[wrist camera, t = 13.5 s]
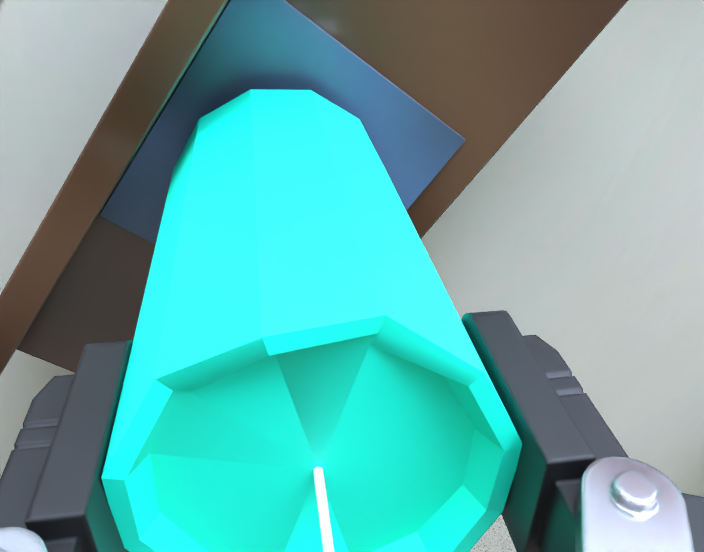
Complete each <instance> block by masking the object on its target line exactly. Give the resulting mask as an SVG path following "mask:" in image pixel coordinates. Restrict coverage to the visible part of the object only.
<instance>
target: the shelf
mask: <svg viewBox="0 0 704 552" xmlns="http://www.w3.org/2000/svg"><path fill="white" fill-rule="evenodd" d="M627 1H628V0H168V1H167V3H166V5H165V7H164V8H163V10H162V12H161V14H160V15H159V17H158V19H157V21H156V23H155V24H154V26H153V28H152V30H151V31H150V33H149V35H148V37H147V38H146V40H145V42H144V44H143V45H142V47H141V49H140V51H139V52H138V54H137V56H136V58H135V59H134V61H133V63H132V65H131V66H130V68H129V70H128V72H127V73H126V75H125V77H124V79H123V80H122V82H121V84H120V86H119V87H118V89H117V91H116V93H115V94H114V96H113V98H112V100H111V102H110V103H109V105H108V107H107V109H106V110H105V112H104V114H103V116H102V117H101V119H100V121H99V123H98V124H97V126H96V128H95V130H94V131H93V133H92V135H91V137H90V138H89V140H88V142H87V144H86V145H85V147H84V149H83V151H82V152H81V154H80V156H79V158H78V159H77V161H76V163H75V165H74V166H73V168H72V170H71V172H70V173H69V175H68V177H67V179H66V181H65V182H64V184H63V186H62V188H61V189H60V191H59V193H58V195H57V196H56V198H55V200H54V202H53V203H52V205H51V207H50V209H49V210H48V212H47V214H46V216H45V217H44V219H43V221H42V223H41V224H40V226H39V228H38V230H37V231H36V233H35V235H34V237H33V238H32V240H31V242H30V244H29V245H28V247H27V249H26V251H25V252H24V254H23V256H22V258H21V260H20V261H19V263H18V265H17V267H16V268H15V270H14V272H13V274H12V275H11V277H10V279H9V281H8V282H7V284H6V286H5V288H4V289H3V291H2V293H1V295H0V375H1V373H2V372H3V370H4V368H5V367H6V365H7V363H8V362H9V360H10V358H11V357H12V355H13V354H14V352H15V350H16V349H17V350H20V351H22V352H25V353H27V354H30V355H32V356H35V357H37V358H40V359H42V360H45V361H47V362H50V363H52V364H55V365H57V366H60V367H63V368H65V369H68V370H70V371H73V372H76V369H77V366H78V363H79V360H80V357H81V354H82V351H83V349H84V347H85V345H86V344H90V343H102V342H114V341H126V340H132V341H133V340H134V336H135V331H136V327H137V323H138V318H139V314H140V310H141V306H142V301H143V297H144V293H145V288H146V284H147V280H148V275H149V271H150V267H151V263H152V258H153V254H154V250H155V245H156V241H157V237H158V233H159V228H160V224H161V220H162V215H163V211H164V207H165V203H166V198H167V194H168V190H169V185H170V181H171V177H172V173H173V168H174V166H175V164H176V162H177V160H178V158H179V156H180V154H181V153H182V151H183V149H184V147H185V145H186V143H187V141H188V139H189V137H190V135H191V134H192V132H193V130H194V128H195V126H196V124H197V122H198V120H199V119H200V118H201V117H203V116H205V115H207V114H208V113H210V112H212V111H214V110H215V109H217V108H219V107H221V106H222V105H224V104H226V103H228V102H229V101H231V100H233V99H235V98H236V97H238V96H240V95H242V94H243V93H245V92H247V91H248V90H250V89H261V90H311V91H313V92H315V93H316V94H318V95H320V96H321V97H323V98H325V99H326V100H328V101H330V102H331V103H333V104H335V105H336V106H338V107H340V108H341V109H343V110H345V111H346V112H348V113H350V114H351V115H353V116H355V117H356V118H358V119H360V121H361V123H362V125H363V127H364V129H365V131H366V133H367V135H368V137H369V139H370V141H371V143H372V144H373V146H374V148H375V150H376V152H377V154H378V156H379V158H380V160H381V162H382V164H383V166H384V168H385V170H386V172H387V174H388V176H389V178H390V180H391V182H392V184H393V186H394V188H395V190H396V192H397V194H398V196H399V198H400V200H401V202H402V204H403V206H404V208H405V210H406V212H407V214H408V216H409V218H410V220H411V222H412V224H413V226H414V228H415V230H416V232H417V234H418V236H419V238H420V239H421V238H422V237H423V236H424V235H425V233H426V232H427V231H428V230H429V229H430V228H431V227H432V225H433V224H434V223H435V222H436V221H437V220H438V219H439V217H440V216H441V215H442V214H443V213H444V212H445V210H446V209H447V208H448V207H449V206H450V205H451V204H452V202H453V201H454V200H455V199H456V198H457V197H458V196H459V194H460V193H461V192H462V191H463V190H464V189H465V187H466V186H467V185H468V184H469V183H470V182H471V181H472V179H473V178H474V177H475V176H476V175H477V174H478V173H479V171H480V170H481V169H482V168H483V167H484V166H485V164H486V163H487V162H488V161H489V160H490V159H491V158H492V156H493V155H494V154H495V153H496V152H497V151H498V150H499V148H500V147H501V146H502V145H503V144H504V143H505V141H506V140H507V139H508V138H509V137H510V136H511V135H512V133H513V132H514V131H515V130H516V129H517V128H518V127H519V125H520V124H521V123H522V122H523V121H524V120H525V118H526V117H527V116H528V115H529V114H530V113H531V112H532V110H533V109H534V108H535V107H536V106H537V105H538V104H539V102H540V101H541V100H542V99H543V98H544V97H545V95H546V94H547V93H548V92H549V91H550V90H551V89H552V87H553V86H554V85H555V84H556V83H557V82H558V81H559V79H560V78H561V77H562V76H563V75H564V74H565V72H566V71H567V70H568V69H569V68H570V67H571V66H572V64H573V63H574V62H575V61H576V60H577V59H578V58H579V56H580V55H581V54H582V53H583V52H584V51H585V49H586V48H587V47H588V46H589V45H590V44H591V43H592V41H593V40H594V39H595V38H596V37H597V36H598V35H599V33H600V32H601V31H602V30H603V29H604V28H605V26H606V25H607V24H608V23H609V22H610V21H611V20H612V18H613V17H614V16H615V15H616V14H617V13H618V12H619V10H620V9H621V8H622V7H623V6H624V5H625V3H626V2H627Z"/></svg>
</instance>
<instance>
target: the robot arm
mask: <svg viewBox="0 0 704 552" xmlns="http://www.w3.org/2000/svg"><path fill="white" fill-rule="evenodd" d="M462 323H463V325H464V327H465V329H466V331H467V333H468V335H469V337H470V339H471V341H472V343H473V345H474V347H475V349H476V351H477V353H478V355H479V357H480V359H481V361H482V363H483V365H484V367H485V369H486V371H487V373H488V375H489V377H490V379H491V381H492V383H493V385H494V387H495V389H496V391H497V393H498V395H499V397H500V399H501V401H502V403H503V405H504V407H505V409H506V411H507V413H508V415H509V417H510V419H511V421H512V423H513V425H514V427H515V429H516V431H517V433H518V435H519V437H520V439H521V441H522V448H521V452H520V456H519V460H518V464H517V468H516V472H515V475H514V478H513V481H512V484H511V487H510V491H509V494H508V497H507V500H506V503H505V506H504V509H503V512H502V513H501V514H502V516H503V519H504V521H505V524H506V526H507V529H508V531H509V534H510V536H511V539H512V541H513V543H514V546H515V548H516V551H517V552H704V497H699V496H694V495H689V494H684V493H681V492H680V491H679V489H678V488H677V486H676V485H675V484H674V483H673V482H672V481H671V480H670V479H669V478H668V477H667V476H665V475H664V474H663V473H661V472H660V471H658V470H657V469H655V468H654V467H652V466H650V465H648V464H646V463H643V462H641V461H638V460H634V459H631V458H629V457H628V456H627V454H626V453H625V451H624V450H623V448H622V447H621V445H620V444H619V442H618V441H617V439H616V438H615V436H614V435H613V433H612V432H611V430H610V429H609V427H608V426H607V424H606V423H605V421H604V420H603V418H602V417H601V415H600V414H599V412H598V411H597V409H596V408H595V406H594V405H593V403H592V402H591V400H590V399H589V397H588V396H587V394H586V393H583V388H582V387H581V385H580V384H579V382H578V381H577V379H576V378H575V376H572V372H571V370H570V369H569V367H568V366H567V364H566V363H565V361H564V360H563V358H562V357H561V355H560V354H559V352H558V351H557V350H555V349H554V348H553V347H551V346H550V345H549V344H547V343H546V342H544V341H543V340H542V339H540V338H539V337H538V336H536V335H528V336H522V335H521V333H520V331H519V330H518V328H517V326H516V325H515V323H514V322H513V320H512V318H511V317H510V315H509V314H508V313H507V312H506V311H504V310H501V311H489V312H477V313H466V314H464V316H463V318H462ZM132 344H133V341H132V340H126V341H114V342H102V343H90V344H86V345H85V347H84V349H83V351H82V354H81V357H80V360H79V363H78V366H77V369H76V372H75V374H74V375H63V376H54V377H53V379H52V380H51V381H50V382H49V383H48V384H47V385H46V386H45V387H44V388H43V389H42V390H41V391H40V392H39V393H38V394H37V395H36V396H35V397H34V398H33V400H32V402H31V405H30V407H29V410H28V412H27V415H26V417H25V420H24V422H23V429H21V430H20V432H19V434H18V437H17V439H16V442H15V444H14V446H15V449H14V450H12V452H11V454H10V457H9V459H8V462H7V464H6V467H5V469H4V472H3V474H2V476H1V479H0V552H130V551H128V550H127V549H125V548H124V545H123V542H122V539H121V537H120V534H119V531H118V528H117V526H116V523H115V520H114V517H113V515H112V512H111V509H110V506H109V504H108V500H107V497H106V493H105V490H104V486H103V482H102V479H101V477H102V473H103V469H104V464H105V460H106V456H107V451H108V447H109V443H110V438H111V434H112V430H113V426H114V421H115V417H116V413H117V408H118V404H119V400H120V396H121V391H122V387H123V383H124V378H125V374H126V370H127V366H128V361H129V357H130V353H131V348H132Z"/></svg>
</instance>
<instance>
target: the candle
mask: <svg viewBox="0 0 704 552" xmlns="http://www.w3.org/2000/svg"><path fill="white" fill-rule="evenodd" d="M521 448H522V441H521V439H520V437H519V435H518V433H517V431H516V429H515V427H514V425H513V423H512V421H511V419H510V417H509V415H508V413H507V411H506V409H505V407H504V405H503V403H502V401H501V399H500V397H499V395H498V393H497V391H496V389H495V387H494V385H493V383H492V381H491V379H490V377H489V375H488V373H487V371H486V369H485V367H484V365H483V363H482V361H481V359H480V357H479V355H478V353H477V351H476V349H475V347H474V345H473V343H472V341H471V339H470V337H469V335H468V333H467V331H466V329H465V327H464V325H463V323H462V321H461V319H460V317H459V315H458V313H457V311H456V309H455V307H454V305H453V303H452V301H451V299H450V297H449V295H448V293H447V291H446V289H445V287H444V285H443V283H442V281H441V279H440V277H439V275H438V273H437V271H436V269H435V267H434V265H433V263H432V261H431V259H430V257H429V255H428V253H427V251H426V249H425V247H424V245H423V243H422V242H421V240H420V238H419V236H418V234H417V232H416V230H415V228H414V226H413V224H412V222H411V220H410V218H409V216H408V214H407V212H406V210H405V208H404V206H403V204H402V202H401V200H400V198H399V196H398V194H397V192H396V190H395V188H394V186H393V184H392V182H391V180H390V178H389V176H388V174H387V172H386V170H385V168H384V166H383V164H382V162H381V160H380V158H379V156H378V154H377V152H376V150H375V148H374V146H373V144H372V143H371V141H370V139H369V137H368V135H367V133H366V131H365V129H364V127H363V125H362V123H361V121H360V119H358V118H356V117H355V116H353V115H351V114H350V113H348V112H346V111H345V110H343V109H341V108H340V107H338V106H336V105H335V104H333V103H331V102H330V101H328V100H326V99H325V98H323V97H321V96H320V95H318V94H316V93H315V92H313V91H311V90H261V89H250V90H248V91H247V92H245V93H243V94H242V95H240V96H238V97H236V98H235V99H233V100H231V101H229V102H228V103H226V104H224V105H222V106H221V107H219V108H217V109H215V110H214V111H212V112H210V113H208V114H207V115H205V116H203V117H201V118H200V119H199V120H198V122H197V124H196V126H195V128H194V130H193V132H192V134H191V135H190V137H189V139H188V141H187V143H186V145H185V147H184V149H183V151H182V153H181V154H180V156H179V158H178V160H177V162H176V164H175V166H174V168H173V173H172V177H171V181H170V185H169V190H168V194H167V198H166V203H165V207H164V211H163V215H162V220H161V224H160V228H159V233H158V237H157V241H156V245H155V250H154V254H153V258H152V263H151V267H150V271H149V275H148V280H147V284H146V288H145V293H144V297H143V301H142V306H141V310H140V314H139V318H138V323H137V327H136V331H135V336H134V340H133V344H132V348H131V353H130V357H129V361H128V366H127V370H126V374H125V378H124V383H123V387H122V391H121V396H120V400H119V404H118V408H117V413H116V417H115V421H114V426H113V430H112V434H111V438H110V443H109V447H108V451H107V456H106V460H105V464H104V469H103V473H102V477H101V479H102V482H103V486H104V490H105V493H106V497H107V500H108V504H109V506H110V509H111V512H112V515H113V517H114V520H115V523H116V526H117V528H118V531H119V534H120V537H121V539H122V542H123V545H124V548H125V549H127V550H128V551H130V552H469V551H470V550H471V548H472V547H473V546H474V545H475V544H476V543H477V541H478V540H479V539H480V538H481V537H482V536H483V534H484V533H485V532H486V531H487V530H488V529H489V527H490V526H491V525H492V524H493V523H494V522H495V520H496V519H497V518H498V517H499V516H500V515H501V513H502V512H503V509H504V506H505V503H506V500H507V497H508V494H509V491H510V487H511V484H512V481H513V478H514V475H515V472H516V468H517V464H518V460H519V456H520V452H521Z"/></svg>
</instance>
